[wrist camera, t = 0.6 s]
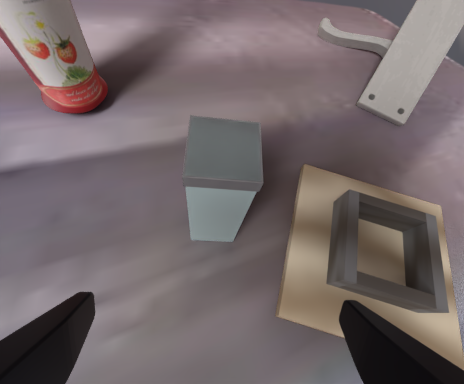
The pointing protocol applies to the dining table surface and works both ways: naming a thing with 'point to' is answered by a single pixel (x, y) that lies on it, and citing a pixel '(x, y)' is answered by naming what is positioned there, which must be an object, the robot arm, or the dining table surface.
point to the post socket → (369, 261)
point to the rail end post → (221, 175)
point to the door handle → (404, 56)
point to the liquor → (53, 53)
